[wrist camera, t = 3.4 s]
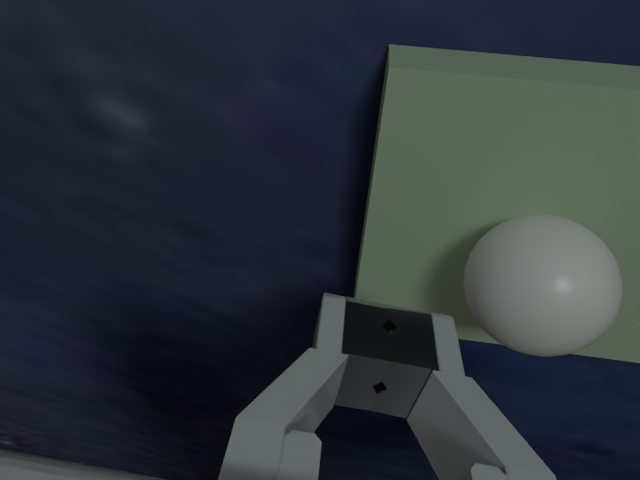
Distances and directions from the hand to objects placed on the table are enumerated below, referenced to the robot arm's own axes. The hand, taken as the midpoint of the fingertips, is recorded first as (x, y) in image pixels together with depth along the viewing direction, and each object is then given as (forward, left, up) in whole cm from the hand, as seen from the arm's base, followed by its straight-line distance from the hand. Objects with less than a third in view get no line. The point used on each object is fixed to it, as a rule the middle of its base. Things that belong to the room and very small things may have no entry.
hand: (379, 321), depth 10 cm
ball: (-3, -3, -3) cm, 5 cm away
